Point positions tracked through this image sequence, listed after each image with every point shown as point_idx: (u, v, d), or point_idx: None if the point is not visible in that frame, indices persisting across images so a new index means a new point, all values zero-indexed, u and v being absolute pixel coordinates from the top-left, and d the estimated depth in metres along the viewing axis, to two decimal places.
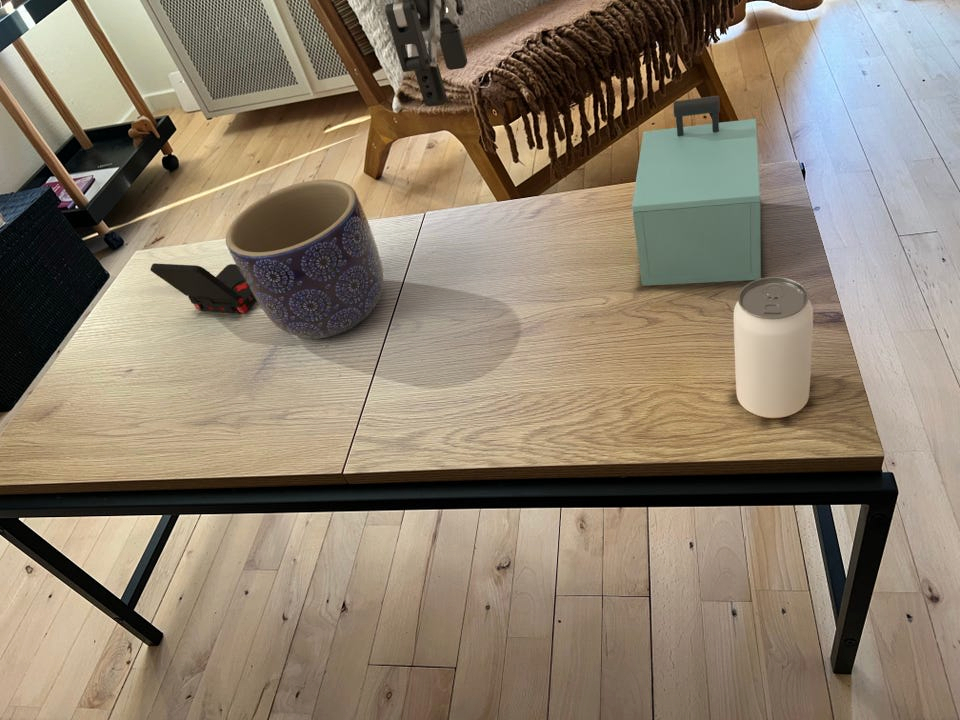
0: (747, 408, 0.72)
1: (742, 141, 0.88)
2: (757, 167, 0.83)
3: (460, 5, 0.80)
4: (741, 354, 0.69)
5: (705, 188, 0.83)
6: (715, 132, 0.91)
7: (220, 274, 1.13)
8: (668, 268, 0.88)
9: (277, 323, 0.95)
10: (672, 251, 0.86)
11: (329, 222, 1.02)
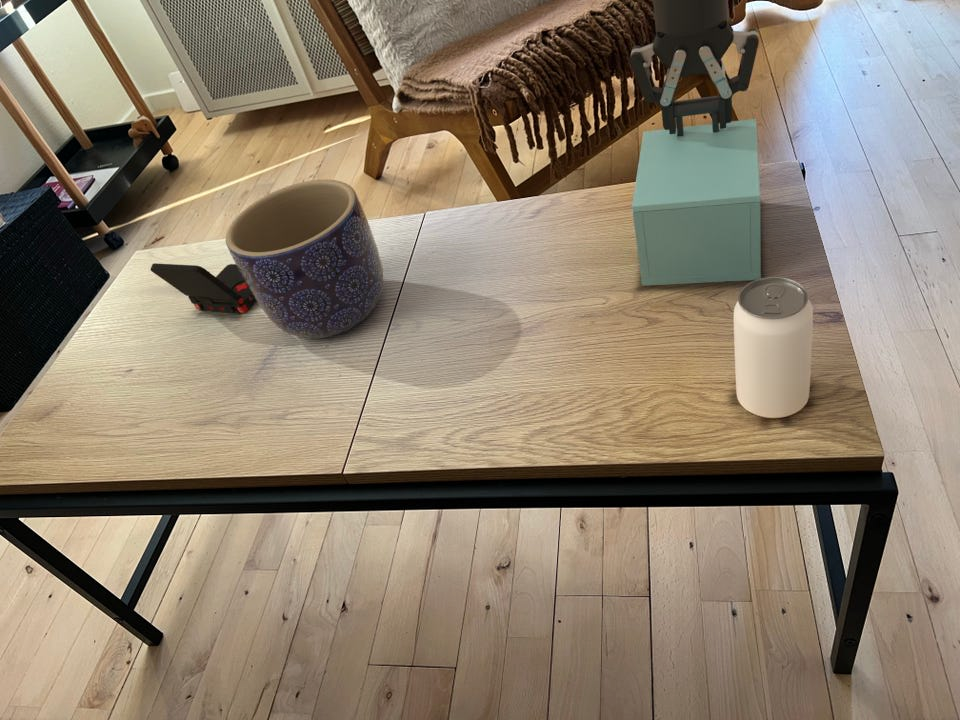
0: (747, 408, 0.72)
1: (742, 141, 0.88)
2: (757, 167, 0.83)
3: (743, 82, 0.85)
4: (741, 354, 0.69)
5: (705, 188, 0.83)
6: (715, 132, 0.91)
7: (220, 274, 1.13)
8: (668, 268, 0.88)
9: (277, 323, 0.95)
10: (672, 251, 0.86)
11: (329, 222, 1.02)
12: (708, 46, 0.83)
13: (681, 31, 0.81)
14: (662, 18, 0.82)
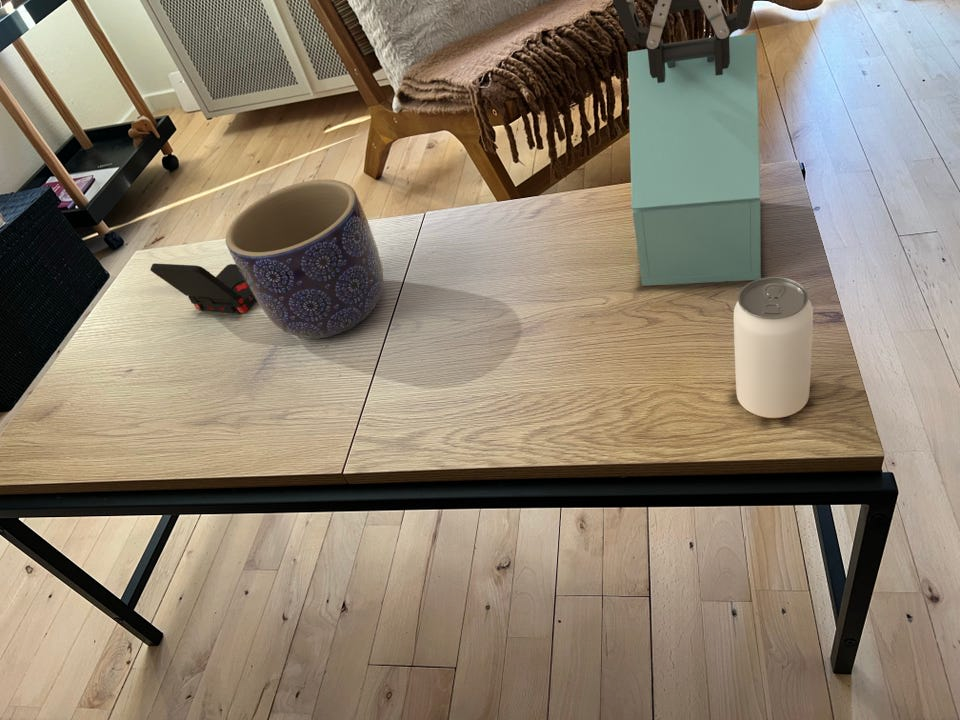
0: (747, 408, 0.72)
1: (741, 86, 0.80)
2: (757, 143, 0.79)
3: (742, 18, 0.73)
4: (741, 354, 0.69)
5: (704, 180, 0.81)
6: (710, 62, 0.81)
7: (220, 274, 1.13)
8: (668, 268, 0.88)
9: (277, 323, 0.95)
10: (672, 251, 0.86)
11: (329, 222, 1.02)
12: None
13: None
14: None
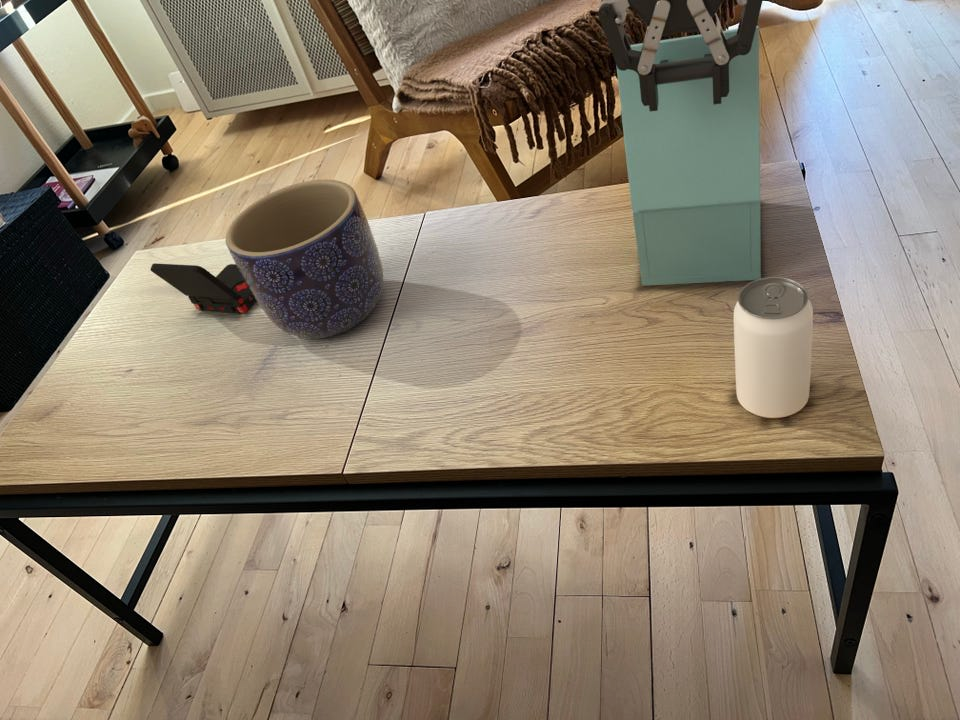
0: (747, 408, 0.72)
1: (741, 88, 0.74)
2: (758, 147, 0.76)
3: (743, 43, 0.66)
4: (741, 354, 0.69)
5: (704, 184, 0.80)
6: None
7: (220, 274, 1.13)
8: (668, 268, 0.88)
9: (277, 323, 0.95)
10: (672, 251, 0.86)
11: (329, 222, 1.02)
12: None
13: None
14: None
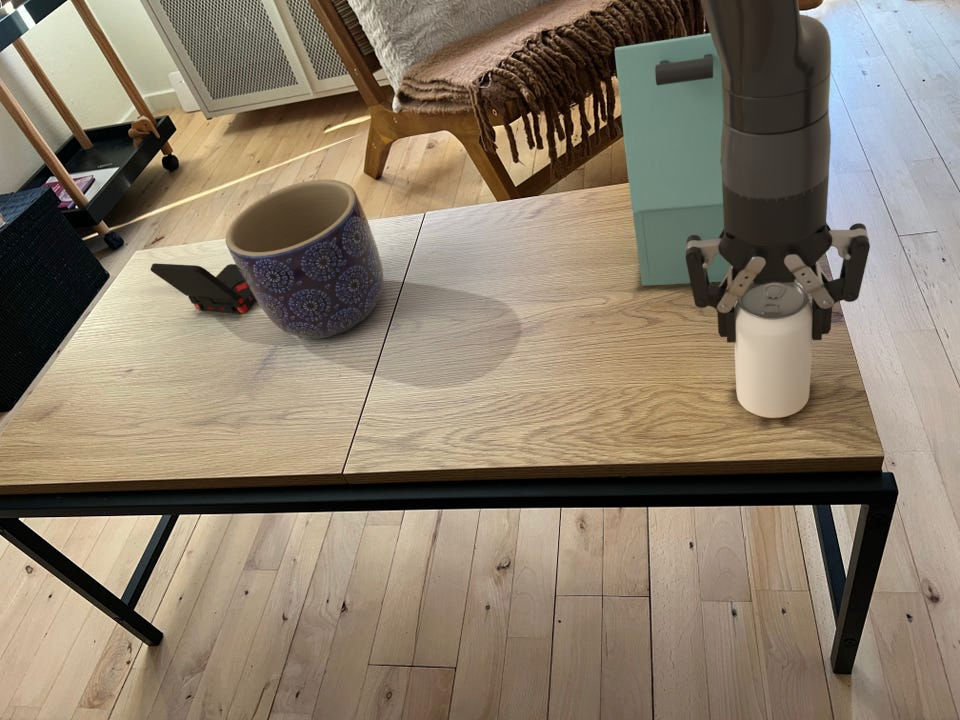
0: (747, 408, 0.72)
1: None
2: None
3: (850, 292, 0.63)
4: (741, 355, 0.69)
5: (704, 184, 0.80)
6: None
7: (220, 274, 1.13)
8: (668, 268, 0.88)
9: (277, 323, 0.95)
10: (672, 251, 0.86)
11: (329, 222, 1.02)
12: (796, 253, 0.61)
13: (763, 241, 0.58)
14: (736, 221, 0.59)
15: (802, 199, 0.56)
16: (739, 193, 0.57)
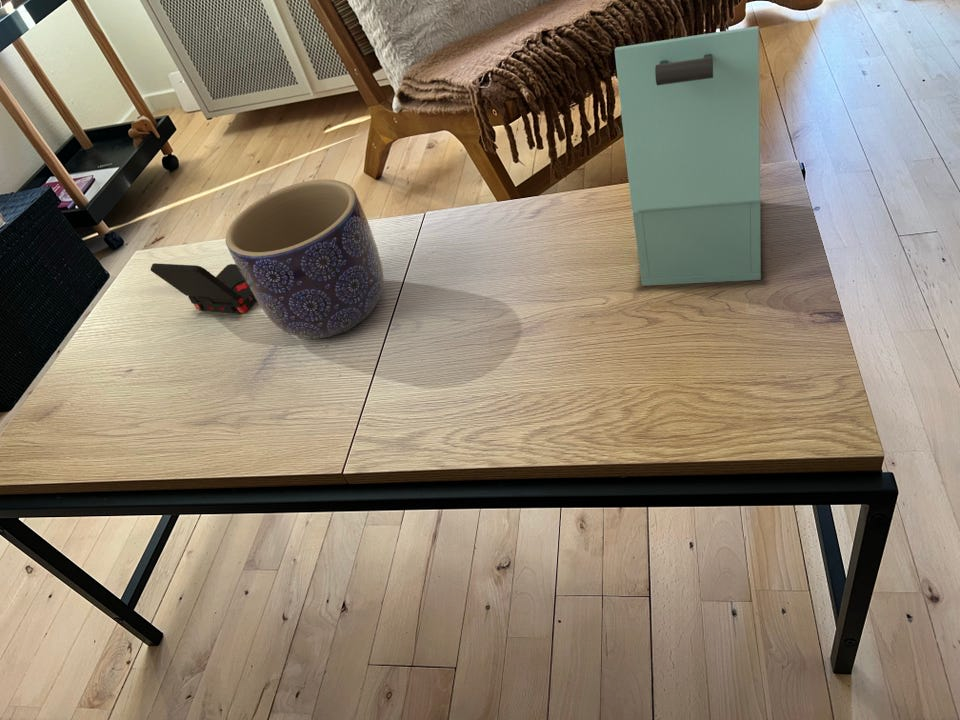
0: None
1: (741, 88, 0.74)
2: (758, 147, 0.76)
3: None
4: None
5: (704, 184, 0.80)
6: None
7: (220, 274, 1.13)
8: (668, 268, 0.88)
9: (277, 323, 0.95)
10: (672, 251, 0.86)
11: (329, 222, 1.02)
12: None
13: None
14: None
15: None
16: None
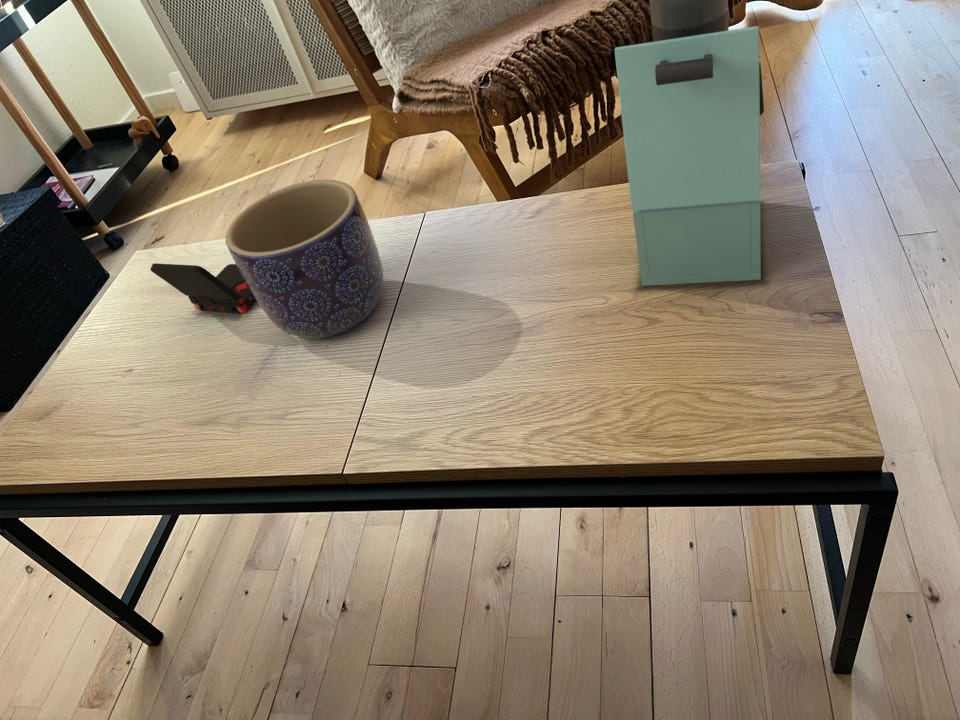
0: None
1: (741, 88, 0.74)
2: (758, 147, 0.76)
3: None
4: None
5: (704, 184, 0.80)
6: None
7: (220, 274, 1.13)
8: (668, 268, 0.88)
9: (277, 323, 0.95)
10: (672, 251, 0.86)
11: (329, 222, 1.02)
12: None
13: None
14: None
15: (706, 29, 0.77)
16: (662, 27, 0.78)
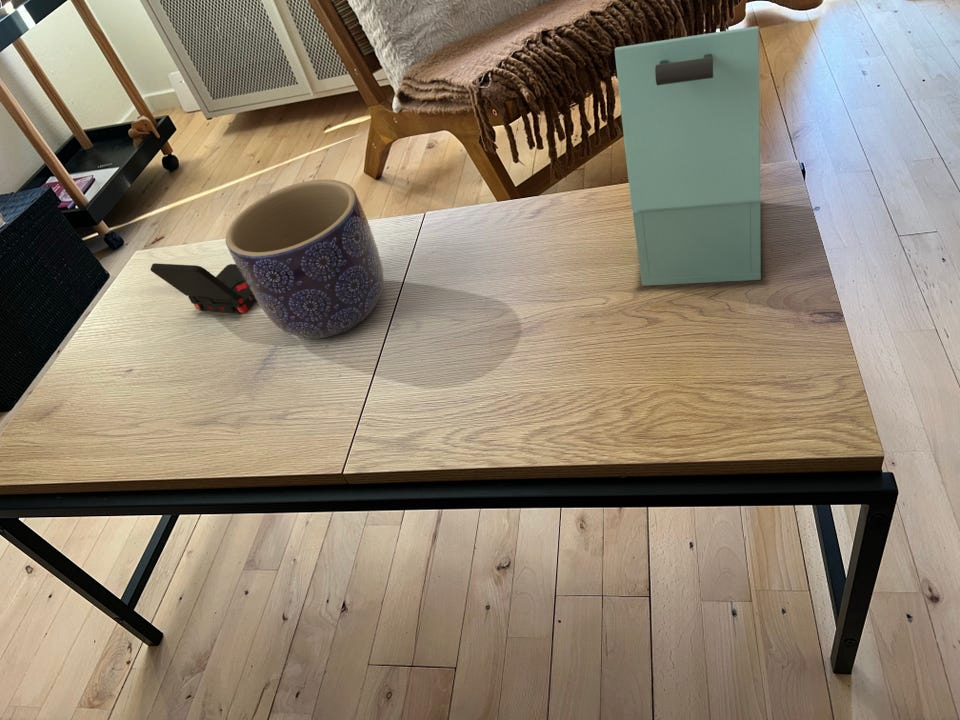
0: None
1: (741, 88, 0.74)
2: (758, 147, 0.76)
3: None
4: None
5: (704, 184, 0.80)
6: None
7: (220, 274, 1.13)
8: (668, 268, 0.88)
9: (277, 323, 0.95)
10: (672, 251, 0.86)
11: (329, 222, 1.02)
12: None
13: None
14: None
15: None
16: None
